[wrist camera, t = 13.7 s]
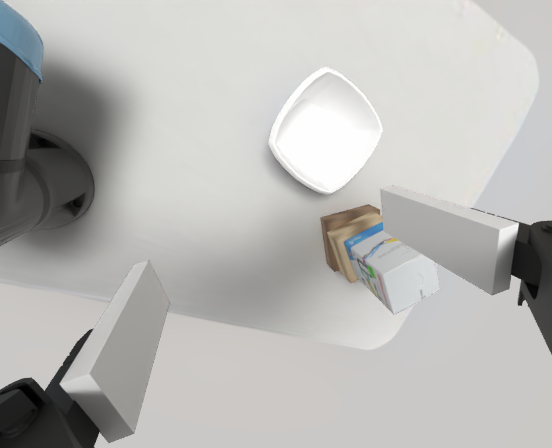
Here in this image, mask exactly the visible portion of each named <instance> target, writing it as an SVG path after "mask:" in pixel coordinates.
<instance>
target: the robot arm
mask: <svg viewBox="0 0 552 448" xmlns="http://www.w3.org/2000/svg"><path fill="white" fill-rule="evenodd" d="M42 58H43V42H42V40H41V38H40V36H39V34H38V33H37V31H36V30H35V29H34V28H33V26H32V25H31V24H30V23H29V22H28V21H27V20H26V19H25V18H24V17H23V16H21V15H20V14H19V13H18V12H16V11H15V10H14V9H12V8H11V7H10V6H9V5H7V4H6V3H4V2H3V1H2V0H0V246H1V245H3V244H5V243H7V242H8V241H10V240H12V239H14V238H16V237H18V236H19V235H21V234H23V233H25V232H27V231H32V230H46V229H53V228H57V227H61V226H63V225H66V224H68V223H70V222H71V221H73V220H75V219H77V218H78V217H80V216H81V215H82V214H83V213H84V212H85V211H86V210H87V209H88V207H89V205H90V204H91V201H92V199H93V194H94V182H93V177H92V174H91V171H90V169H89V167H88V165H87V164H86V162H85V161H84V159H83V158H82V157H81V156H80V154H79V153H78V152H77V151H76V150H75V149H73V148H72V147H71V146H70V145H68V144H67V143H66V142H64V141H63V140H61V139H59V138H57V137H55V136H53V135H50V134H48V133H45V132H41V131H37V130H31V127H32V121H33V116H34V110H35V104H36V98H37V92H38V86H39V84H42V82H43V77H42V74H41V67H42ZM380 190H381V203H382V216H383V229H384V232H385V233H387V234H389V235H390V236H392V237H394V238H395V239H397V240H399V241H400V242H402V243H404V244H406V245H407V246H409V247H411V248H412V249H414V250H416V251H417V252H419V253H421V254H423V255H424V256H426V257H428V258H429V259H431V260H433V261H434V262H436V263H438V264H439V265H441V266H443V267H445V268H446V269H448V270H450V271H451V272H453V273H455V274H456V275H458V276H460V277H462V278H463V279H465V280H467V281H468V282H470V283H472V284H473V285H475V286H477V287H479V288H480V289H482V290H484V291H485V292H487V293H489V294H490V295H495V294H497V293H500V292H502V291H505V290H507V289H509V286H510V280H511V275H513V276H515V277H517V278H519V279H521V285H520V291H519V297H518V305H520V306H522V302H523V301H524V300H526V301H527V303H528V307H529V308H530V310H531V312H532V314H533V316H534V318H535V320H536V322H537V325H538V327H539V329H540V331H541V333H542V335H543V337H544V339H545V341H546V344H547V346H548V348H549V350H550V352H551V354H552V221H540V222H536V223H533V224H532V225H527V224H524V223H520V222H517V221H514V220H510V219H507V218H504V217H500V216H495V215H493V214H490V213H485V212H483V211H480V210H476V209H473V208H467V207H464V206H460V205H457V204H454V203H450V202H447V201H444V200H440V199H437V198H434V197H430V196H427V195H423V194H420V193H417V192H413V191H410V190H407V189H403V188H400V187H397V186H393V185H392V186H388V187H385V188H382V189H380ZM169 304H170V302H169V300H168V298H167V296H166V293H165V291H164V289H163V287H162V285H161V283H160V281H159V279H158V277H157V275H156V273H155V271H154V269H153V267H152V265H151V263H150V261H149V260H147V261H144V262H141V263H138V264H134V265H133V267H132V268H131V270H130V271H129V273H128V275H127V276H126V278H125V279H124V281H123V283H122V284H121V286H120V287H119V289H118V291H117V292H116V294H115V296H114V297H113V299H112V300H111V302H110V304H109V305H108V307H107V308H106V310H105V312H104V313H103V315H102V316H101V318H100V320H99V321H98V323H97V324H96V326H95V328H94V329H91V330H89V331H88V332H87V333H86V334H85V335H84V336H83V337H82V338H81V339H80V340H79V341H77V343H76V344H75V346H74V348H73V349H72V350H71V352H70V355H69V356H67V358H66V359H65V361H64V362H63V366H61V367H60V369H59V370H58V372H57V373H56V375H55V376H54V378H53V379H52V381H51V382H50V384H49V385H48V387H47V388H46V390H45V391H44V390H43V389H42V388H41V387H40V386H39V384H38V383H37V382H36V381H35V380H34V379H32V378H23V379H20V380H18V381H15V382H13V383H11V384H9V385H8V386H6V387H4V388H2V389H1V390H0V448H94V445H95V442H96V440H97V437H98V434H99V432H100V433H101V434H102V436H103V437H104V438H105V439H106V440H107V442H108V443H111V442H113V441H116V440H119V439H121V438H124V437H126V436H129V435H131V434H134V432H135V429H136V425H137V421H138V418H139V414H140V410H141V407H142V403H143V399H144V395H145V392H146V388H147V385H148V381H149V377H150V373H151V370H152V366H153V363H154V358H155V355H156V351H157V348H158V344H159V340H160V337H161V333H162V329H163V325H164V322H165V318H166V315H167V311H168V307H169Z"/></svg>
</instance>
